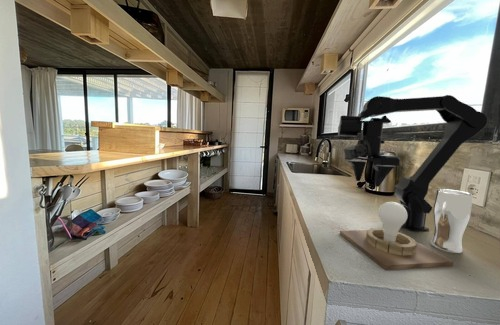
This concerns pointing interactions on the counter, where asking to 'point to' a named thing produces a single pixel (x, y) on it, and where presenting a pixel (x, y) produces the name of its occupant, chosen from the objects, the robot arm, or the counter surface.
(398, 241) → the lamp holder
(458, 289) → the counter surface
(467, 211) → the beer glass
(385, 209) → the lightbulb
